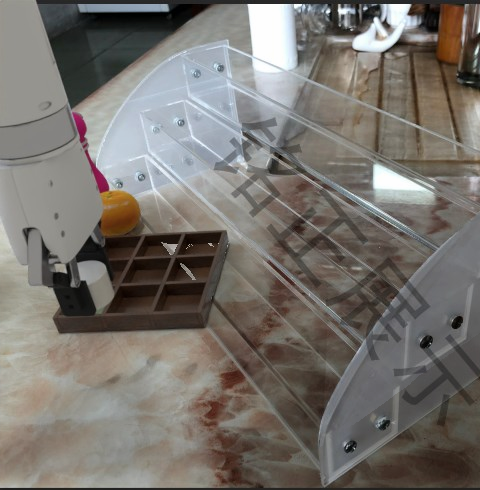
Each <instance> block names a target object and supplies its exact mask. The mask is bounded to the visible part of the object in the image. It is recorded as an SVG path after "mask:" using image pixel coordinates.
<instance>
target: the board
mask: <svg viewBox="0 0 480 490" xmlns="http://www.w3.org/2000/svg"><path fill="white" fill-rule="evenodd" d="M104 238H105V245H104V247H101V248H105V249H106V252H107V255H108V258H109V261H110V264H111V267H112V270H113V273H114V276H115V278H114V280H113V281H112V282H111V283H112V286H113V289H114V297H113V299H112V300H111V302H110V303H109V304H107V305H106V306H105V307H103V308H101V309H99V310H97V311H96V313H95V315H94V316H73V317H67V316H65V315H64V314H63V312H62V310H61V308H60V306H59V307H58V308H57V310H56V312H55V313H54V315H53V317H52V320H53V323H54V325H55V327H56V330H57V332H58V334H62V333H64V334H65V333H89V332H119V331H120V332H121V331H143V330H144V331H145V330H172V329H173V330H174V329H198V328H205V327H206V323H207V320H208V318H209V314H210V309H211V307H212V304H213V301H212V302H211V297H212V296H213V295H214V296H215V293H216V290H217V286H218V283H219V280H220V276H221V273H220V272H222V269H223V266H222V265H224V263H223V260H224V261H225V259H224V256H225V252H226V249H227V245H228V242H229V243H230V240H229V235H228V231H227V230H226V229H218V230H217V229H214V230H198V231H197V230H195V231H175V232H156V233H155V232H154V233H152V232H151V233H136V234H135V233H134V234H133V233H132V234H124V235H111V236H104ZM161 242H163V243H167V244H178V245H177V247H176V249H175V252H174V254H173V255H170V254H169V252H168V251H167V249H166V248H165V247H164V246H163V244H162V243H161ZM208 243H212V245H213V246H214V247H213V246H210V245H209V244H208ZM218 243H219V244H218ZM189 244H190V245H189ZM191 244H192V245H193V246H192V245H191ZM188 245H189V246H190V247H189V246H188ZM187 247H188V248H187ZM186 248H187V249H186ZM227 250H228V249H227ZM226 253H227V252H226ZM225 257H226V256H225ZM180 263H182V264H184V265H185V266H186V267H187V268H188V269H189V270H190V271H191V273H192V274H193V276H194V277H195V279H196V280H192V278H191V277H190V276H189V275H188V274H187V273H186V271H185V270H184V269H183V268H182V267H181V265H180ZM221 268H222V269H221ZM219 275H220V276H219ZM218 279H219V280H218ZM215 289H216V290H215Z"/></svg>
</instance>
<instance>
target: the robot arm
mask: <svg viewBox="0 0 480 490" xmlns="http://www.w3.org/2000/svg"><path fill="white" fill-rule="evenodd" d="M72 112H73V111H72V108H71V105H70V102H69V99H68V96H67V92H66V90H65V86H64V83H63V81H62V77H61V74H60V70H59V69H58V65H57V60H56V58H55V56H54V51H53V49H52V46H51V43H50V39H49V37H48V33H47V31H46V28H45V24H44V22H43V18H42V15H41V12H40V9H39V6H38V2H37V0H0V221H1V224H2V226H3V229H4V231H5V234H6V237H7V240H8V243H9V245H10V247H11V250H12V252H13V255H14V257H15V259H16V261H17V262H18V263H19V265H20V266H27V281H28V285H29V286H30V287H47V288H48V289H50V290H51V289H52V291H53V293H54V295H55V298H56V300H57V303H58V305H59V307H60V308H61V310H62V312H63V314H64V315H65V316H67V317H73V316H94V315H95V313H96V311H97V310H96V307H95V304H94V301H93V299H92V296H91V293H90V291H89V288H88V285H87V283H86V280H81V279H80V274H79V269H78V265H77V263H79V262H83V261H91V260H93V261H99V262H102V263H103V264H104V265H105V266H106V268H107V271H108V274H109V277H110V280H111V282H112V281H113V280H114V278H115V276H114V273H113V270H112V267H111V264H110V261H109V258H108V255H107V252H106V249H105V248H101V247H104V245H105V238H104V236H103V234H102V232H101V223H102V221H101V216H102V213H103V204H102V199H101V195H100V192H99V189H98V186H97V183H96V180H95V177H94V174H93V171H92V169H91V166H90V164H89V161H88V159H87V156H86V154H85V152H84V149H83V147H82V145H81V143H80V141H79V139H80V136H79V133H78V130H77V127H76V124H75V121H74V118H73V114H72ZM56 265H65V269H66V270H67V273H63V271H57V270H56V269H57V268H56Z"/></svg>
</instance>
